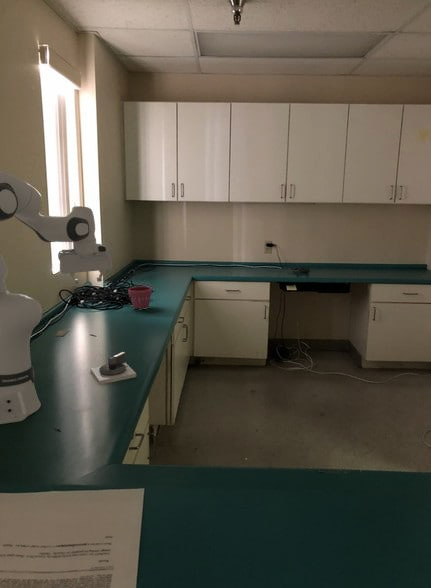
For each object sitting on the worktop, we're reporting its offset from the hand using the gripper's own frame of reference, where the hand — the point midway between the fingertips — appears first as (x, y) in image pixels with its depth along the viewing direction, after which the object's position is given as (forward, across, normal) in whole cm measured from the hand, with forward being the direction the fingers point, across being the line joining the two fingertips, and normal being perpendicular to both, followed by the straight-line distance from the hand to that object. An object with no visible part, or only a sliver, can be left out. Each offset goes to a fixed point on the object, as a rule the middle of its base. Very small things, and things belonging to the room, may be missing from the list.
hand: (87, 282), depth 179 cm
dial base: (+34, +3, -17) cm, 38 cm away
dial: (+32, +4, -16) cm, 36 cm away
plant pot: (+34, +48, +77) cm, 97 cm away
